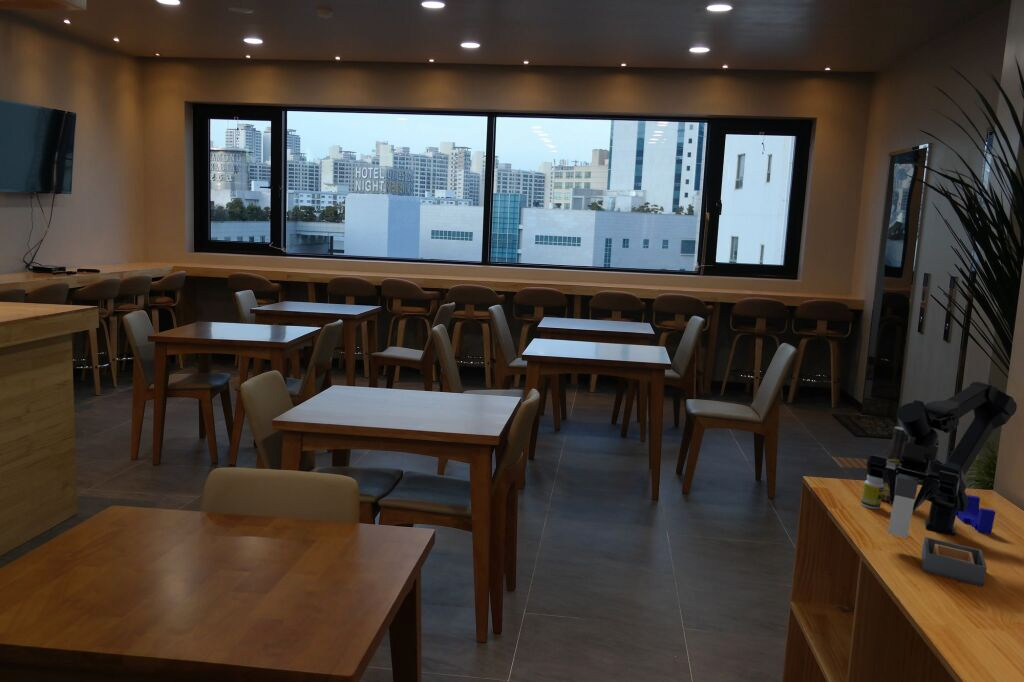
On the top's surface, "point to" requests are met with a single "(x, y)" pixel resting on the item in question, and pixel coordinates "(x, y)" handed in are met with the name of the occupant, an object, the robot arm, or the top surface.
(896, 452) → the sauce bottle
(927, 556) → the walled box
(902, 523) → the plug
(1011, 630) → the top surface
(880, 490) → the supplement bottle
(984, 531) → the cable clip
